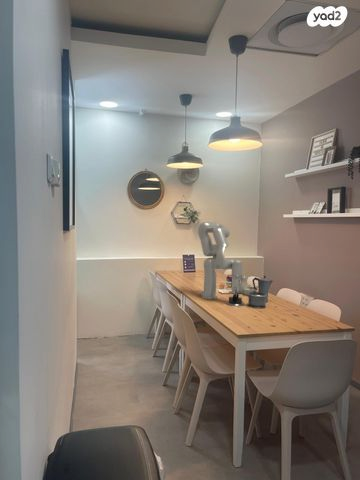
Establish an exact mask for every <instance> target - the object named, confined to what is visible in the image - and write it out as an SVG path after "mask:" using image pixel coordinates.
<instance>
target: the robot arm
mask: <svg viewBox="0 0 360 480" xmlns="http://www.w3.org/2000/svg"><path fill="white" fill-rule="evenodd" d="M197 232H198V233H197V234H198V237H199V240H200V244H201V248H202V249H201V250H202V252H203V255H204V256H205V257H207V258H205V260H204V262H203V268H204V269H203V270H204V271H203V272H204V275H203V276H204V278H203V280H204V281H203V291H198V294H199V295H201V298H203V299H207V300H217V299H218V295H216V294H217V292H216V291H217V273H216V270H221V269H222V270H231V280H232V281H231V290H230V291H231V293H232V297H233V302H237V297H240V296H239V295H240V293H239V289H240V282H241V279H242V276H243V261H242V260H239V259H233V258H226V257H225V255H224V254H225V250H226V249H227V248H228V246H229V243H228V240H227V239H228V237H230V230H229V229H228V228H227V227H226V226H224V225H223V224H220V223H218V222H216V221H215V222H214V221H205V222H204V221H203V222H201V223H200V224H199V225H198V228H197ZM209 233H210V234H212V236H213V238H214V241H215V244H214V243H213V241H212V237H211V236H210V234H209Z"/></svg>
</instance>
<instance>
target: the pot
mask: <svg viewBox="0 0 360 480" xmlns="http://www.w3.org/2000/svg"><path fill="white" fill-rule="evenodd" d="M248 295H249V296H248V304H247V307H249V308H252V309H266V307H267V306H266V303H267V302H266V294H264V293H259V292H258V291H255V292H250V293H248ZM265 302H266V303H265Z"/></svg>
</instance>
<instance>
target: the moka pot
mask: <svg viewBox="0 0 360 480" xmlns="http://www.w3.org/2000/svg"><path fill="white" fill-rule="evenodd" d="M255 281H257V286H258V288H255V286H256V283H255ZM273 282H274V281H273V280H272V279H269V278H267V276H265V275H263V277H260V278H259V277H254V278H253V279H252V286H253V285H254V289H256V291H257V290H258V291H257V292H259V293H264V294H266V302H265V304H267V303H268V302H269V290H270V286H271V285H272V283H273Z"/></svg>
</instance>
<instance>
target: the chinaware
mask: <svg viewBox="0 0 360 480" xmlns="http://www.w3.org/2000/svg"><path fill="white" fill-rule="evenodd" d="M248 279H249V277H247V276H246V275H245V274H242V279H241V280H240V289H239V295H240V294H241V295H246V296H247V297H249V295H248V293H250V292H257V290H256V289H254V285H253V284H252V285H248ZM255 288H257V289H259V288H258V285H255Z"/></svg>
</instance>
